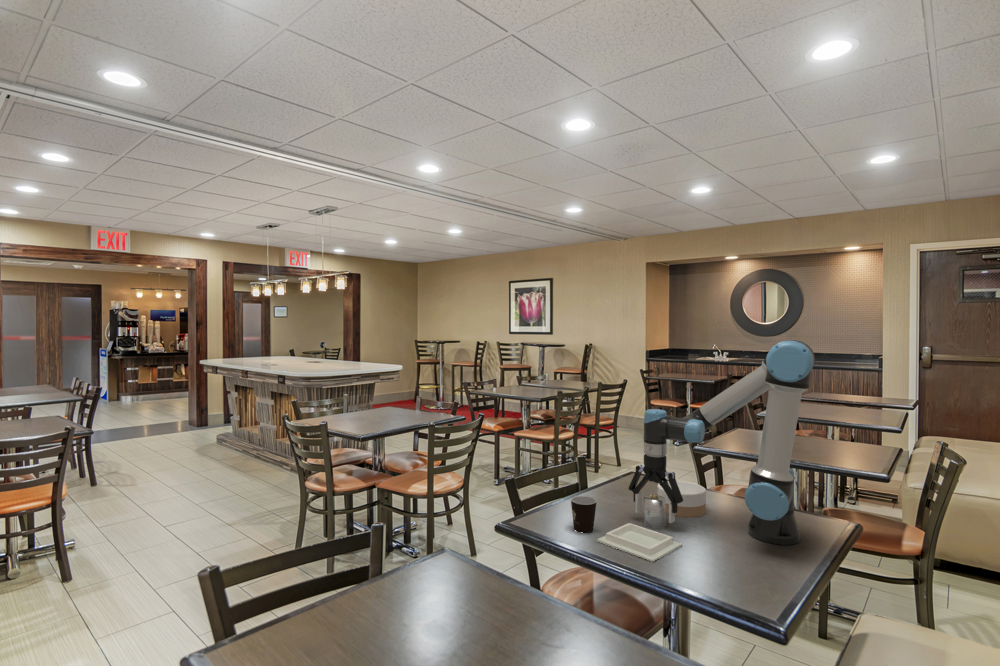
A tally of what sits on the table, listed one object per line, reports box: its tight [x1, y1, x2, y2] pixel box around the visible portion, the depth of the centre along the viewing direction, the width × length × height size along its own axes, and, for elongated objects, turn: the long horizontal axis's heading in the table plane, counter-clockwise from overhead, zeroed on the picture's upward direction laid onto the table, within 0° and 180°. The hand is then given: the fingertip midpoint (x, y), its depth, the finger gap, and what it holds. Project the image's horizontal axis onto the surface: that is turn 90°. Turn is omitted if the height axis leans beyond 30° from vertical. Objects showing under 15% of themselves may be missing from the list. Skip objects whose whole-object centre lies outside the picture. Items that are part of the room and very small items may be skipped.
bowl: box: [657, 480, 707, 518], centre depth 195 cm, size 17×17×8 cm
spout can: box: [643, 493, 666, 530], centre depth 178 cm, size 7×7×11 cm
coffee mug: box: [570, 495, 597, 534], centre depth 176 cm, size 12×9×10 cm
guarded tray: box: [596, 522, 683, 561], centre depth 163 cm, size 20×17×3 cm
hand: (654, 516), depth 179 cm, fingers open, 12 cm apart
